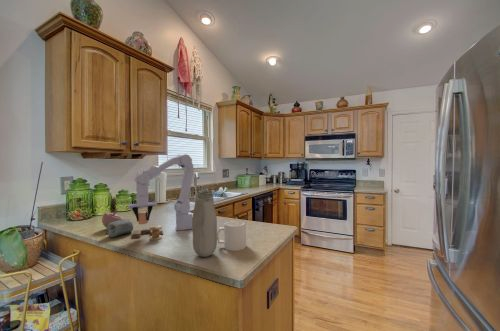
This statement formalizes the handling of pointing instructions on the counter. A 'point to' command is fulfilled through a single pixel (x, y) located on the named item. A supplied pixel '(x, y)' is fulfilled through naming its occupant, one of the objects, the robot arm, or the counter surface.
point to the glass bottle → (204, 224)
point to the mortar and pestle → (110, 218)
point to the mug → (233, 235)
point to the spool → (119, 227)
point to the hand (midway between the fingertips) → (143, 220)
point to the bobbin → (155, 232)
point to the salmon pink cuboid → (143, 217)
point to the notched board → (144, 232)
